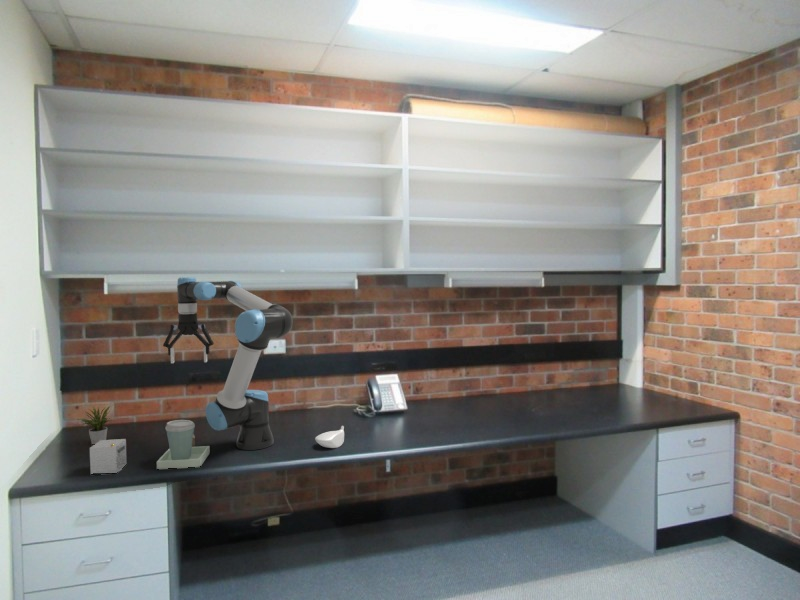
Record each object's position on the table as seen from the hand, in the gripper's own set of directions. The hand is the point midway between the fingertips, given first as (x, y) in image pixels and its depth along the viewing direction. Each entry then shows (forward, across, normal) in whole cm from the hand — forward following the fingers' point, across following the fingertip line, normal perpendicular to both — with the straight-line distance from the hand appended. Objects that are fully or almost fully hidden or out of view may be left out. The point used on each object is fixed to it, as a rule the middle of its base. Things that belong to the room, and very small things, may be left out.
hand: (189, 362), depth 223 cm
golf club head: (+35, -59, +14) cm, 70 cm away
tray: (+35, -4, +24) cm, 42 cm away
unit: (+35, +22, +29) cm, 50 cm away
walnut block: (+35, -1, +9) cm, 36 cm away
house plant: (+35, +40, -6) cm, 53 cm away
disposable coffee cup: (+34, -2, +24) cm, 42 cm away
